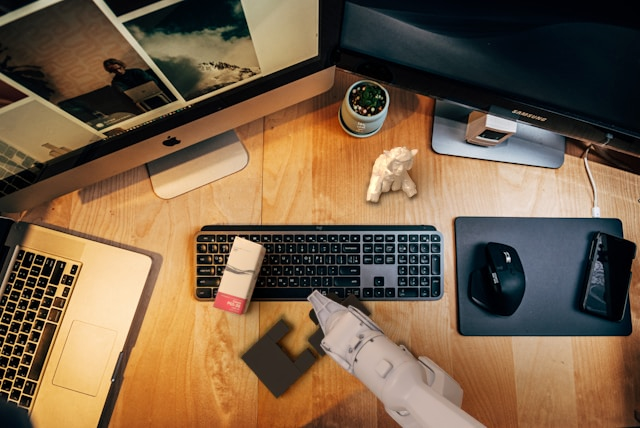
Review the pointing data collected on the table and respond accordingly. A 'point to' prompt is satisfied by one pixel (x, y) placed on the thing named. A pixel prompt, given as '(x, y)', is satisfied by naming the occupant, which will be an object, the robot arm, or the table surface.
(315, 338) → the pad
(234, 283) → the ink box
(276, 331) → the base pad
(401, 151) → the seated beast figurine
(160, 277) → the table surface
